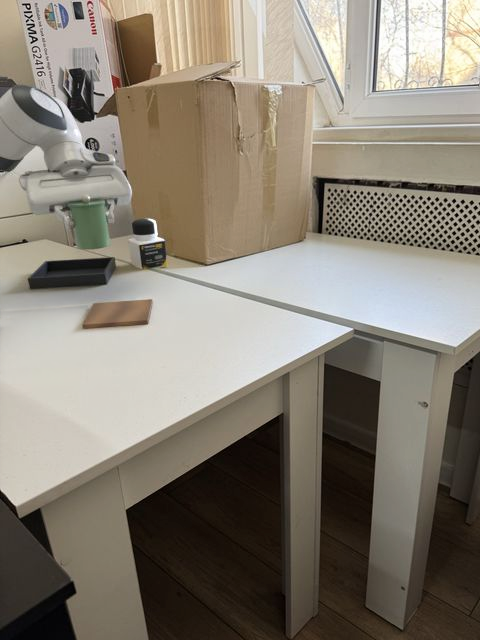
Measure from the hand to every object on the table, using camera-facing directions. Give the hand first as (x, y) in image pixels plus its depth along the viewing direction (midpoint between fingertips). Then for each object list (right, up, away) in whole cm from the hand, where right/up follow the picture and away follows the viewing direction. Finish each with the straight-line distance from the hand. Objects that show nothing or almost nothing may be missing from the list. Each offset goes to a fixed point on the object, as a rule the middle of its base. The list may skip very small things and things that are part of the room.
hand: (91, 224), depth 101 cm
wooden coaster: (+6, -18, 0) cm, 19 cm away
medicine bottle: (+5, -3, +32) cm, 32 cm away
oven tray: (-11, -8, +23) cm, 27 cm away
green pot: (0, -4, +2) cm, 4 cm away
